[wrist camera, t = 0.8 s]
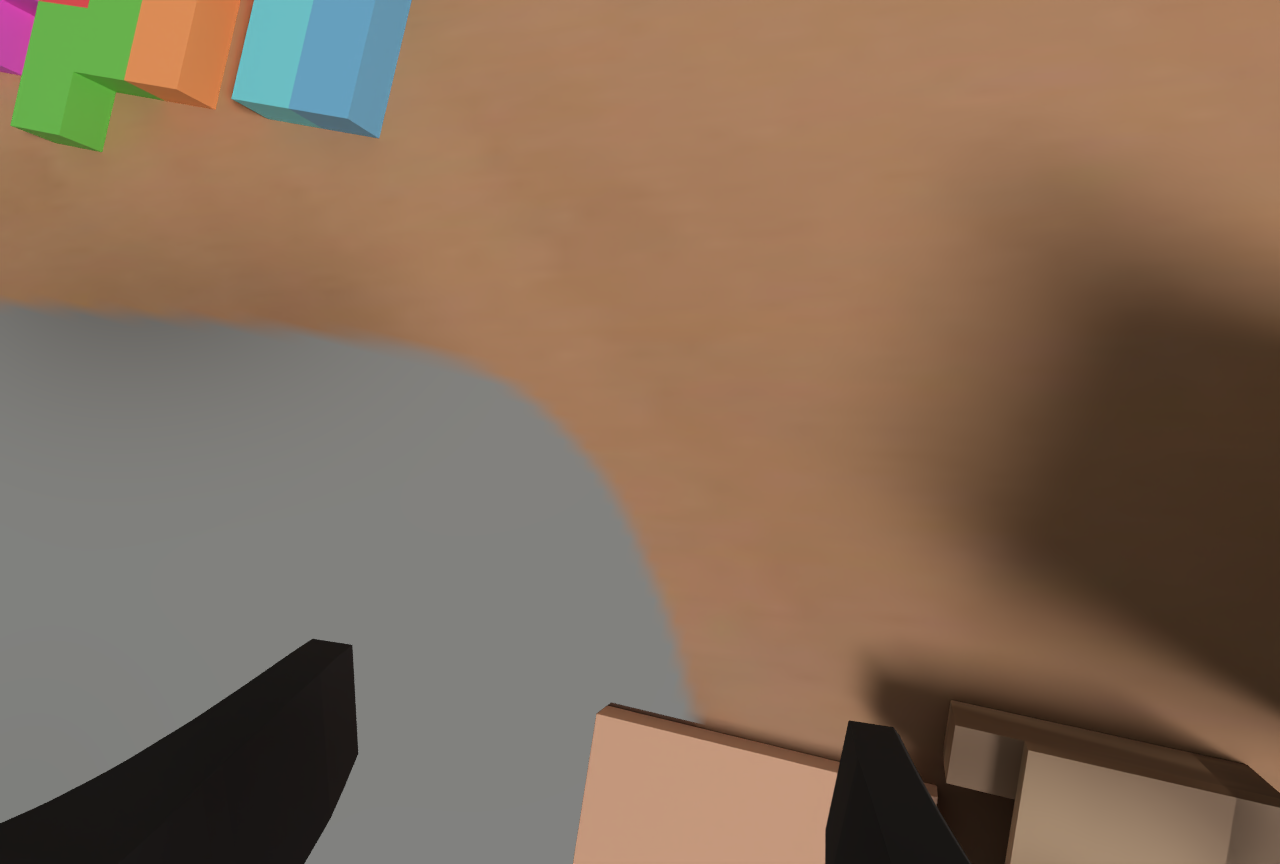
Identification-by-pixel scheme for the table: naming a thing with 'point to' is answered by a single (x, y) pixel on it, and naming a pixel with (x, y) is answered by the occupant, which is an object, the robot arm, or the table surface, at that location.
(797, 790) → the tile
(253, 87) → the tetris game
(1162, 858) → the dock
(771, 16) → the table surface
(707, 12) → the table surface
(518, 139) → the table surface
